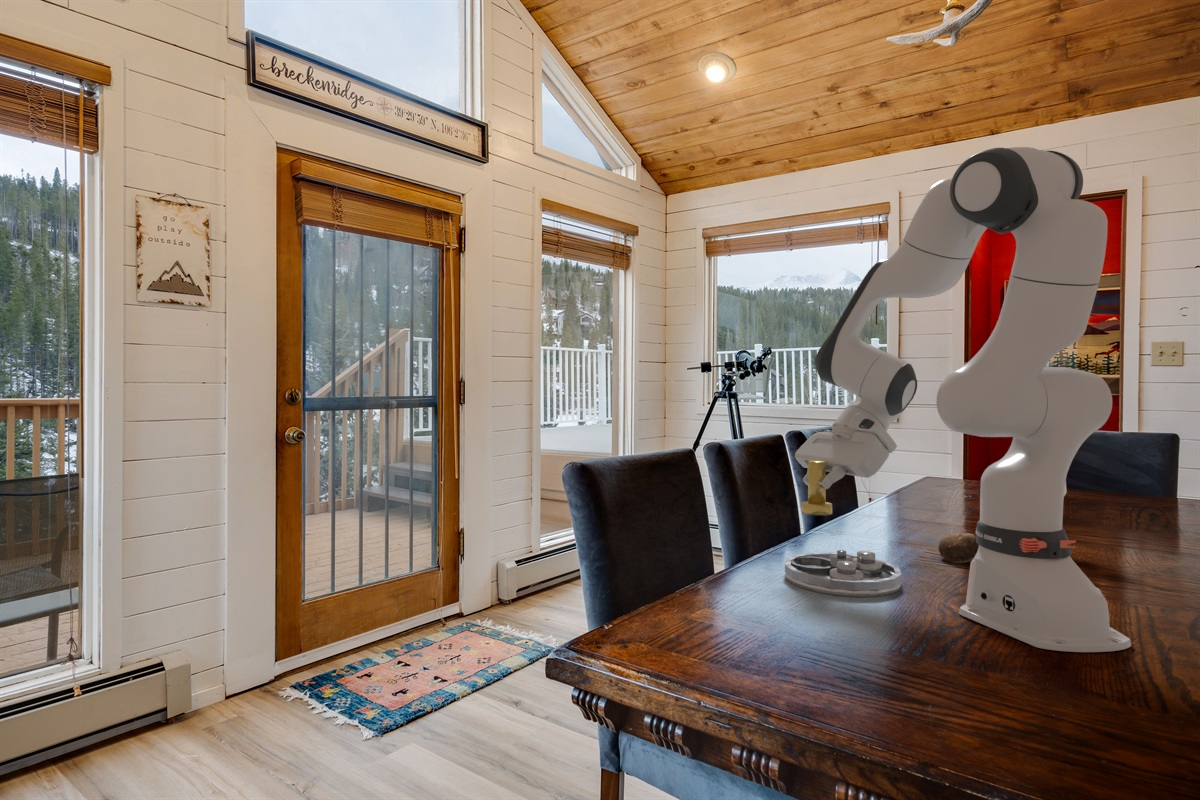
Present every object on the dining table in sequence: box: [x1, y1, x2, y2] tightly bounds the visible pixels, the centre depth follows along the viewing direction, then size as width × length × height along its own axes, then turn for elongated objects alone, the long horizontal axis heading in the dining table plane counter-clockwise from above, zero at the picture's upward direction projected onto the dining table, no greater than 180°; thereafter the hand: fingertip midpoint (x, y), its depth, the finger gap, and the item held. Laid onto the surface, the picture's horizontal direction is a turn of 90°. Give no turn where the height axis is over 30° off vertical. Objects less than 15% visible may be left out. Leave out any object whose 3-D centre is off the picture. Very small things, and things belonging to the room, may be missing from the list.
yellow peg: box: [800, 461, 833, 516], centre depth 130 cm, size 6×6×10 cm
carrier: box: [784, 549, 903, 598], centre depth 126 cm, size 20×20×5 cm
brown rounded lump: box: [938, 532, 979, 564], centre depth 140 cm, size 8×8×6 cm
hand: (814, 484), depth 130 cm, fingers closed on yellow peg, 3 cm apart
